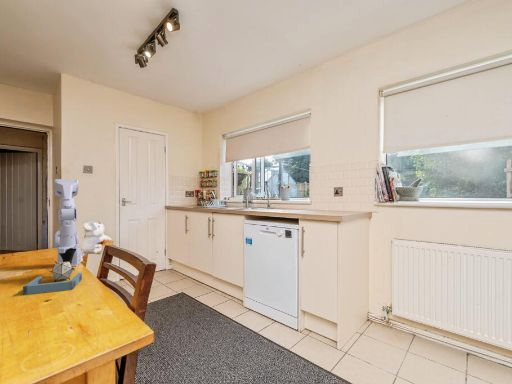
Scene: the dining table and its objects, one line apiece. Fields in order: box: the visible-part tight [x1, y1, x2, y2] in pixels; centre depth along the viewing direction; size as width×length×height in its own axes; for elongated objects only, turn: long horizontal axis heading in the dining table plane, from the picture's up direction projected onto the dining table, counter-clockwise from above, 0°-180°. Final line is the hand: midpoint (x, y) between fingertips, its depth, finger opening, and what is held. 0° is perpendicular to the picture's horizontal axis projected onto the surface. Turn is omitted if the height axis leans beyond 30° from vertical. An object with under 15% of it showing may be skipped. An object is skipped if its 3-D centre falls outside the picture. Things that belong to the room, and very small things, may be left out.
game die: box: [49, 260, 76, 283], centre depth 106 cm, size 9×8×10 cm
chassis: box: [22, 272, 83, 296], centre depth 98 cm, size 15×12×3 cm
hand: (67, 265), depth 111 cm, fingers closed
